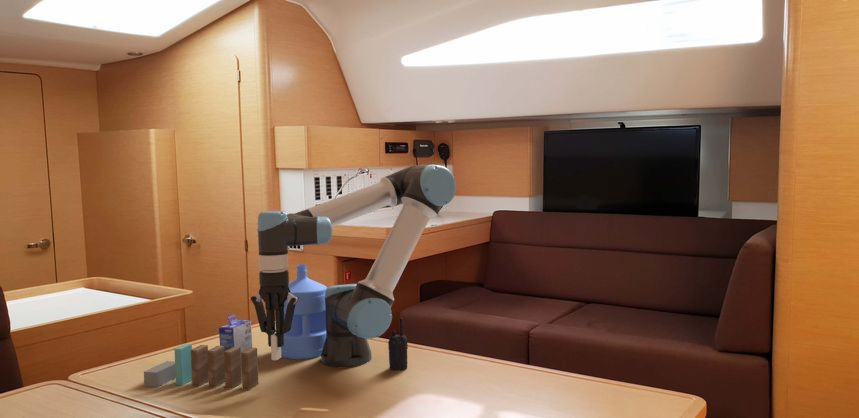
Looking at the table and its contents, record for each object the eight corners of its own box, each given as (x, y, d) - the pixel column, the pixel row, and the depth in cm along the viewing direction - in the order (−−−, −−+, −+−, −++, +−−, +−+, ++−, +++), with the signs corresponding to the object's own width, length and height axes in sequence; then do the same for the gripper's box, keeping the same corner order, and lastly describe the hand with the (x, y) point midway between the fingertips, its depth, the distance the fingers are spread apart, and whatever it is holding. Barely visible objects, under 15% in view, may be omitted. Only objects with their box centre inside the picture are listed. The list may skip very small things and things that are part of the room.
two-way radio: (408, 368, 191) (407, 316, 190) (406, 372, 186) (405, 320, 185) (389, 367, 191) (388, 316, 190) (387, 372, 187) (386, 320, 186)
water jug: (276, 349, 213) (274, 263, 211) (325, 344, 217) (323, 260, 215) (281, 363, 198) (277, 270, 196) (333, 357, 202) (330, 267, 201)
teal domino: (193, 379, 184) (191, 344, 183) (182, 385, 179) (180, 349, 178) (186, 379, 184) (185, 344, 184) (175, 385, 179) (174, 348, 179)
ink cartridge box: (238, 357, 204) (236, 311, 203) (253, 359, 203) (252, 312, 202) (219, 367, 195) (217, 319, 194) (235, 368, 193) (234, 319, 192)
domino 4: (258, 384, 179) (257, 347, 178) (249, 390, 174) (247, 352, 173) (251, 383, 179) (250, 347, 179) (242, 389, 174) (241, 352, 174)
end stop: (179, 375, 188) (179, 361, 187) (157, 387, 178) (156, 372, 178) (167, 374, 188) (166, 361, 188) (144, 386, 179) (143, 371, 179)
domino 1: (209, 380, 182) (207, 345, 182) (198, 386, 178) (197, 350, 177) (202, 380, 183) (201, 344, 182) (192, 386, 178) (190, 349, 177)
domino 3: (241, 382, 180) (240, 346, 179) (232, 389, 175) (230, 352, 175) (235, 382, 181) (233, 346, 180) (225, 388, 176) (224, 351, 175)
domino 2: (225, 381, 181) (224, 346, 181) (215, 387, 176) (213, 351, 176) (218, 381, 182) (217, 345, 181) (208, 387, 177) (207, 350, 176)
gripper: (302, 268, 175) (305, 356, 176) (258, 267, 178) (260, 353, 179) (290, 273, 168) (293, 364, 169) (244, 271, 171) (247, 361, 172)
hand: (276, 358), depth 174 cm, fingers closed
